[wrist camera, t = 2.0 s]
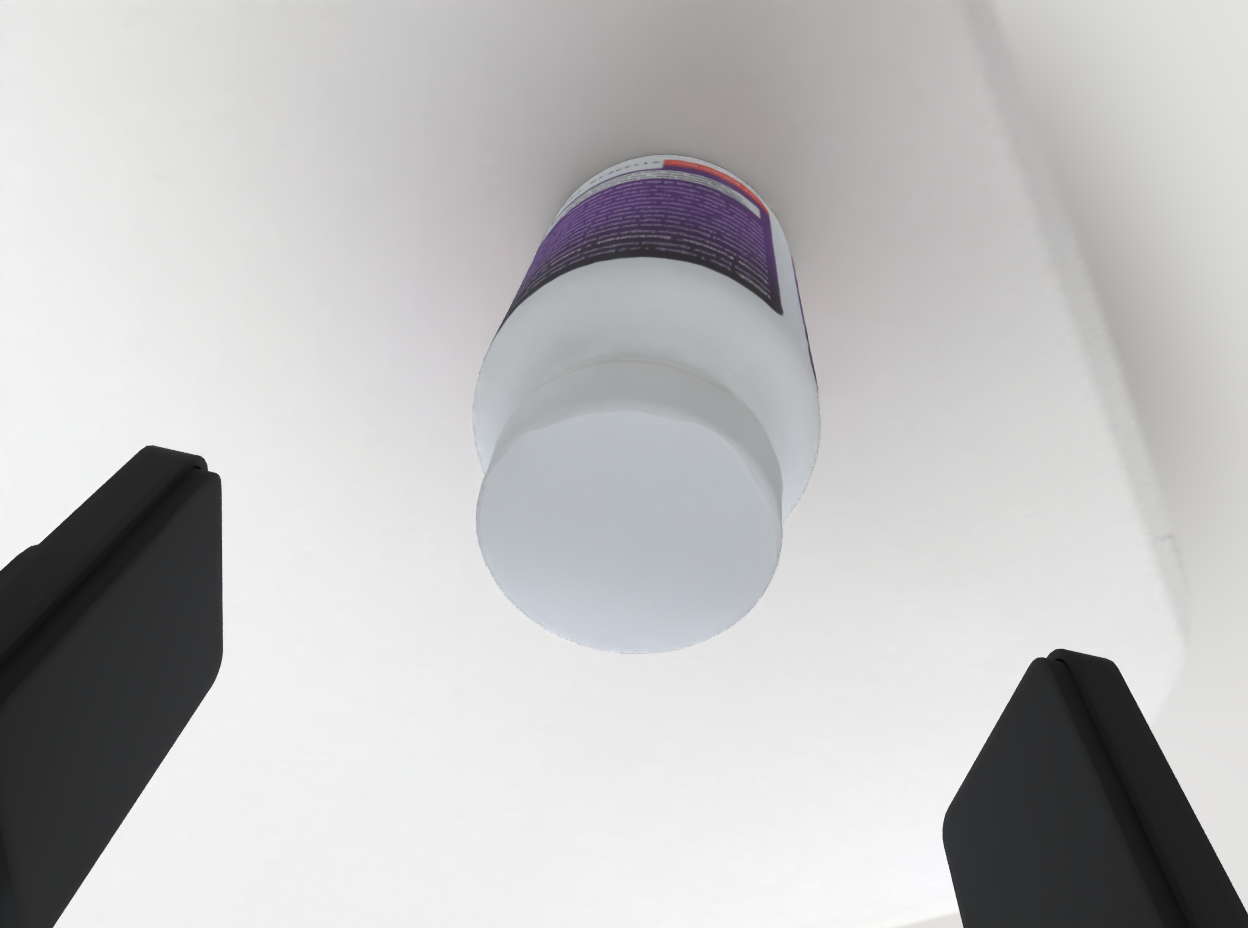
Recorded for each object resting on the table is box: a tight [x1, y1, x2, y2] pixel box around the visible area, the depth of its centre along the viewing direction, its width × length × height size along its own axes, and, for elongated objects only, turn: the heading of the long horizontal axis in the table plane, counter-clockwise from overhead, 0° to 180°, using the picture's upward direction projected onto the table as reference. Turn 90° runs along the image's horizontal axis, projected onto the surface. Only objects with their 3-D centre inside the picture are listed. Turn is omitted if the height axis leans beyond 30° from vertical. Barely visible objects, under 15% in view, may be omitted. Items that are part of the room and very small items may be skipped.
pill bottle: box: [473, 155, 820, 654], centre depth 16 cm, size 5×5×10 cm
